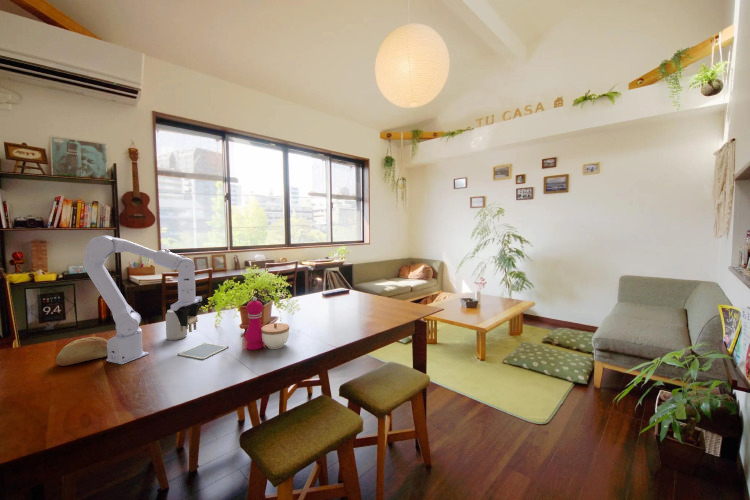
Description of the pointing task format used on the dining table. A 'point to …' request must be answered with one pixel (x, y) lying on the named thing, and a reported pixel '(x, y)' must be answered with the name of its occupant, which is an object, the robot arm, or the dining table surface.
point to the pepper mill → (254, 325)
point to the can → (173, 327)
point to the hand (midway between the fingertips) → (188, 323)
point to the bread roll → (82, 351)
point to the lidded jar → (275, 335)
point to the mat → (203, 351)
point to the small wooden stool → (189, 323)
